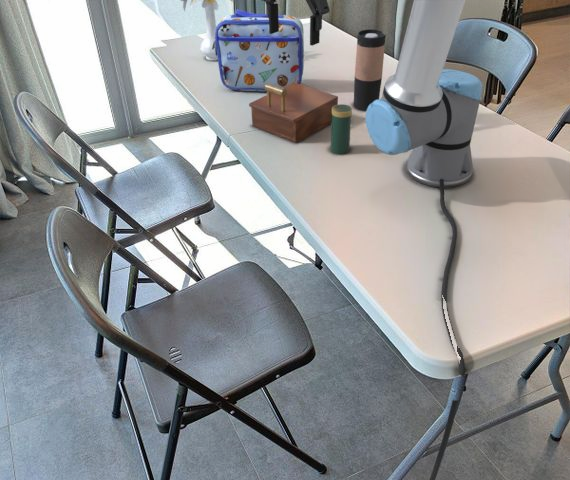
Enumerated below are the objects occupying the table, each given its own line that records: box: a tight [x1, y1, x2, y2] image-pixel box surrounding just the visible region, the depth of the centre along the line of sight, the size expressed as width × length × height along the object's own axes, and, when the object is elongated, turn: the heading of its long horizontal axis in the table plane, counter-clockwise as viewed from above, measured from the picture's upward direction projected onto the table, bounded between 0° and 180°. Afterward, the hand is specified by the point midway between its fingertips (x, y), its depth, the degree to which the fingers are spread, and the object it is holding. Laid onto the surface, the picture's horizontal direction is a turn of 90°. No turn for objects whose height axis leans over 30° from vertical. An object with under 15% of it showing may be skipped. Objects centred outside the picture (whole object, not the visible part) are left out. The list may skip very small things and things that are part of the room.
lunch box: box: [212, 8, 305, 92], centre depth 163 cm, size 28×10×22 cm, turn 84°
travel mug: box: [353, 28, 386, 112], centre depth 152 cm, size 8×8×20 cm
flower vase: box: [180, 0, 234, 62], centre depth 182 cm, size 13×18×25 cm
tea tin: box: [329, 103, 353, 155], centre depth 135 cm, size 5×5×11 cm
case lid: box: [248, 83, 339, 123], centre depth 144 cm, size 19×16×7 cm
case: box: [250, 98, 339, 144], centre depth 149 cm, size 18×16×6 cm
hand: (293, 38), depth 135 cm, fingers open, 13 cm apart
